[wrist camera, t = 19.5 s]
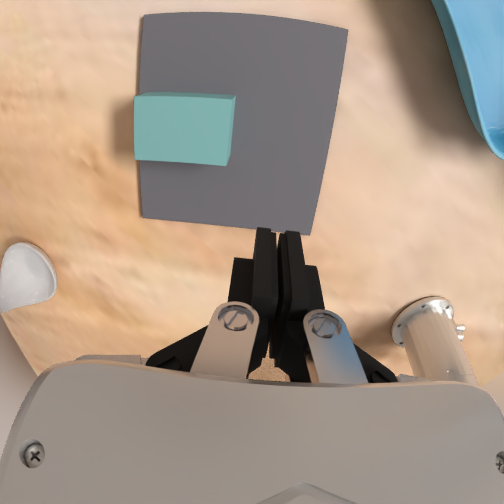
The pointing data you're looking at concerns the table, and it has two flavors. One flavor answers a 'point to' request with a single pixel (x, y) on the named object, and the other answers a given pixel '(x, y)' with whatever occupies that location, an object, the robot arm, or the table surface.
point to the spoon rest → (25, 276)
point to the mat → (246, 115)
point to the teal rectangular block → (183, 127)
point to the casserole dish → (478, 61)
